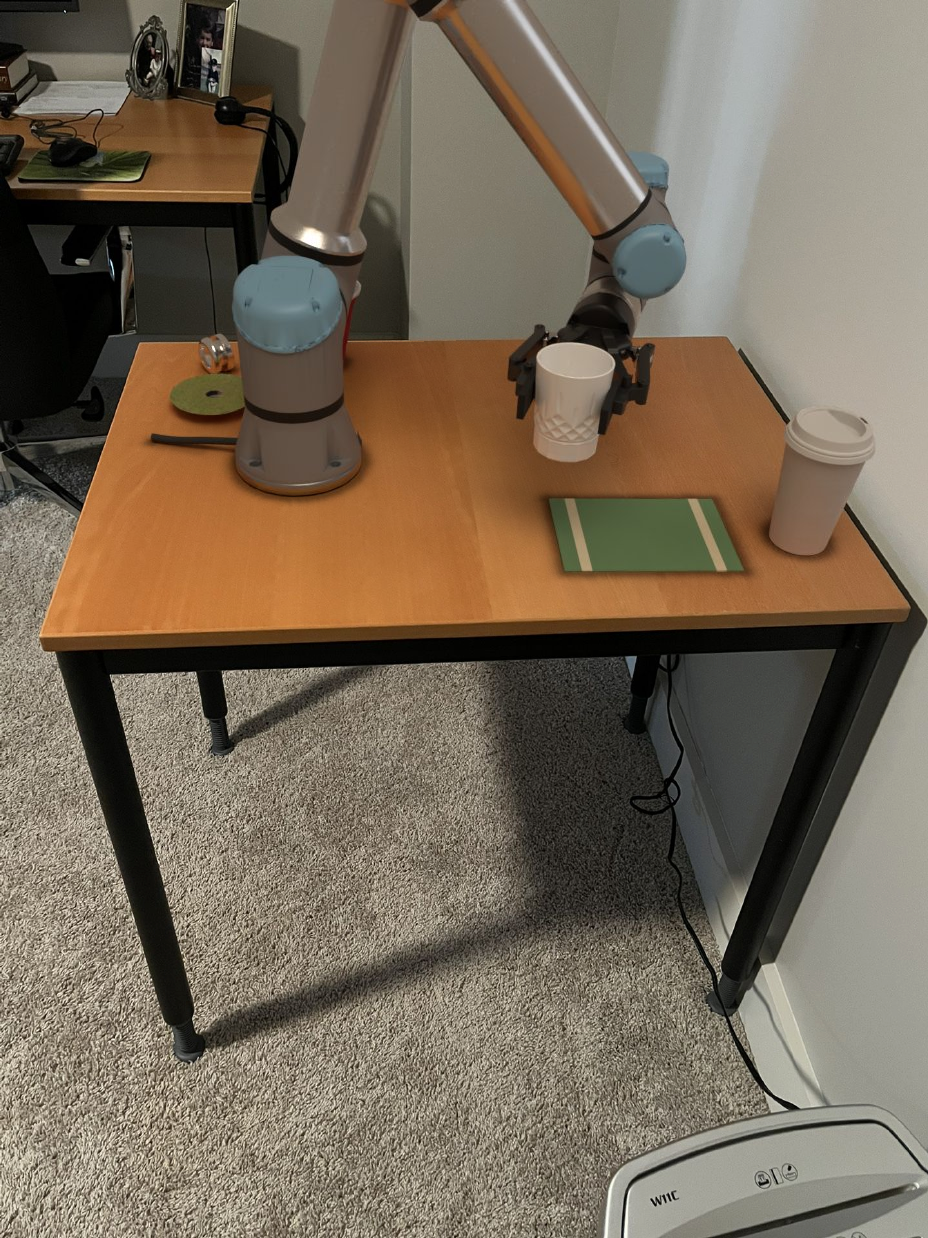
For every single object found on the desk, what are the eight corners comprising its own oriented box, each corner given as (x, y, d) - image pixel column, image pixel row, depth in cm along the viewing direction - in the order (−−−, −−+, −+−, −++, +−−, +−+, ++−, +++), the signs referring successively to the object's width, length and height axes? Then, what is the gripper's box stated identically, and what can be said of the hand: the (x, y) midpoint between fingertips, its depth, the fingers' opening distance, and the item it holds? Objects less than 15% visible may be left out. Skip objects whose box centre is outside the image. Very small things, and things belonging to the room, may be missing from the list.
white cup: (552, 472, 102) (563, 383, 95) (514, 436, 107) (522, 349, 100) (616, 456, 104) (630, 369, 98) (576, 422, 110) (587, 336, 103)
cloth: (564, 573, 108) (564, 570, 108) (548, 501, 119) (548, 498, 118) (743, 572, 109) (744, 569, 109) (711, 501, 120) (712, 498, 120)
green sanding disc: (258, 425, 129) (257, 411, 127) (169, 429, 127) (167, 415, 126) (257, 384, 137) (256, 371, 136) (174, 387, 135) (171, 374, 134)
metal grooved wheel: (235, 374, 139) (232, 341, 135) (217, 380, 137) (212, 346, 134) (217, 361, 141) (213, 328, 138) (198, 367, 140) (194, 333, 137)
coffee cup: (846, 568, 110) (889, 451, 101) (759, 559, 111) (794, 442, 101) (832, 519, 118) (871, 406, 108) (751, 511, 118) (783, 397, 109)
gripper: (685, 368, 115) (657, 467, 98) (515, 338, 119) (460, 429, 102) (698, 306, 110) (671, 398, 94) (520, 277, 114) (464, 361, 97)
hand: (561, 414), depth 98 cm, fingers closed on white cup, 8 cm apart
